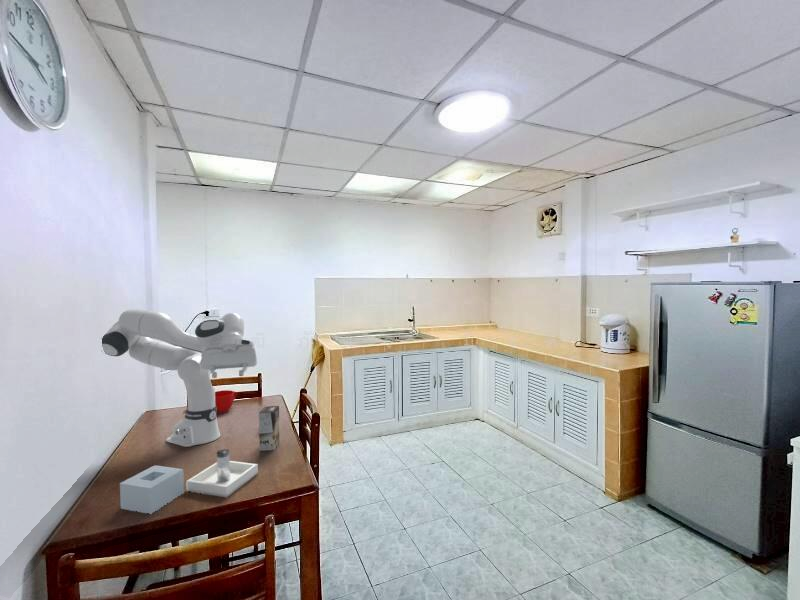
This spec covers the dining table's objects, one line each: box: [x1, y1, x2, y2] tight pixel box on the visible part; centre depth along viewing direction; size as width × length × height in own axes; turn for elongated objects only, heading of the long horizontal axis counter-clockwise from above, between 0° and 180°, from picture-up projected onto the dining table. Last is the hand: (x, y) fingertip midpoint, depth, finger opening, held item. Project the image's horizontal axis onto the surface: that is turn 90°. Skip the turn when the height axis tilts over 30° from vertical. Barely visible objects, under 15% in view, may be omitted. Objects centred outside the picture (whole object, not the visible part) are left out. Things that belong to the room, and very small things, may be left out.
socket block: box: [119, 465, 185, 515], centre depth 119 cm, size 12×12×8 cm
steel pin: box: [216, 448, 231, 483], centre depth 130 cm, size 4×4×10 cm
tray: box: [185, 460, 259, 498], centre depth 130 cm, size 16×16×4 cm
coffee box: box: [258, 405, 281, 452], centre depth 159 cm, size 9×6×16 cm
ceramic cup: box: [215, 389, 238, 414], centre depth 208 cm, size 13×17×10 cm
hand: (227, 376), depth 142 cm, fingers open, 8 cm apart
